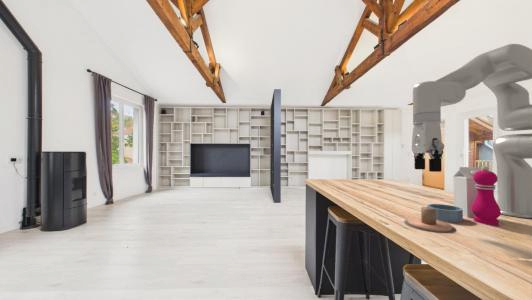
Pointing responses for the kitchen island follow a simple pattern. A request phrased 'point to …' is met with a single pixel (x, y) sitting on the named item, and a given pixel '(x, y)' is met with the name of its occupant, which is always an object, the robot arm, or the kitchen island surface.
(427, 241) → the kitchen island surface
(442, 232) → the round mat
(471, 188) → the milk carton
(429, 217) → the lid
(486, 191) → the pepper mill
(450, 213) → the bowl
